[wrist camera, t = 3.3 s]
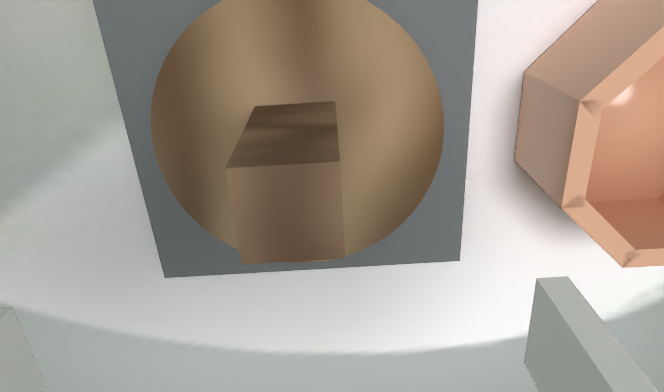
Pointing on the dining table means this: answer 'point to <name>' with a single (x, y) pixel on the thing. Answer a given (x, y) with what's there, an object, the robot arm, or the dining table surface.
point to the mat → (220, 258)
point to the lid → (297, 126)
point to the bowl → (602, 127)
